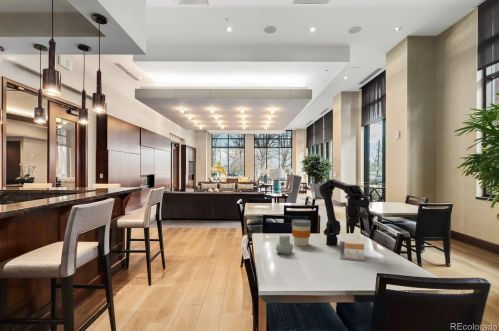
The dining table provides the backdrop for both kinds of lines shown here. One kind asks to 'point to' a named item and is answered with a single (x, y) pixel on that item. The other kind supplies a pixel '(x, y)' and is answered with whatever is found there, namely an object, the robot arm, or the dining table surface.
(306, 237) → the reusable coffee cup
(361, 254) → the chassis board
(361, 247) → the cable arm
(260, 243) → the dining table surface
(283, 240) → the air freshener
